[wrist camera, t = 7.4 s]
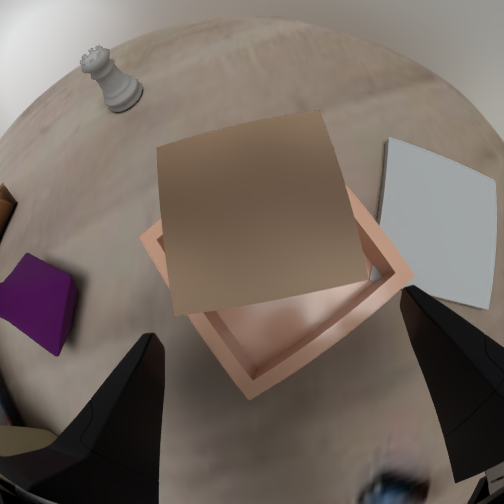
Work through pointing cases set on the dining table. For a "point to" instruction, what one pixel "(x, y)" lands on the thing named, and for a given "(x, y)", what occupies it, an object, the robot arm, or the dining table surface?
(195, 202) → the walnut block
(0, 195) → the sunglasses case
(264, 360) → the box
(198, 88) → the dining table surface
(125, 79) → the rook chess piece
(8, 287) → the perfume bottle
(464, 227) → the light grey board
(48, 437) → the plant pot
